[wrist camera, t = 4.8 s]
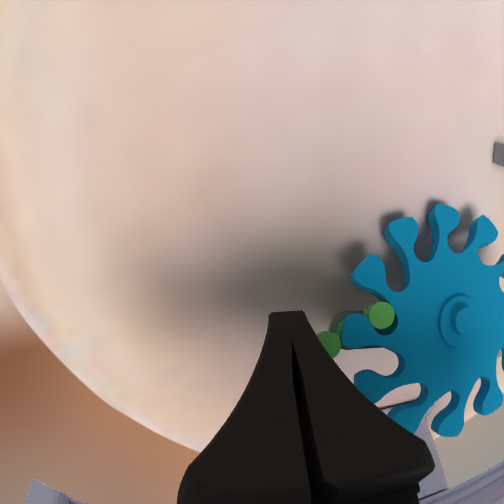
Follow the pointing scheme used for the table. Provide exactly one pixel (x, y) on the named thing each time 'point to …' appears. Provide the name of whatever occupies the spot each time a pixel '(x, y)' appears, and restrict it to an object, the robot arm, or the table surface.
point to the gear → (430, 322)
